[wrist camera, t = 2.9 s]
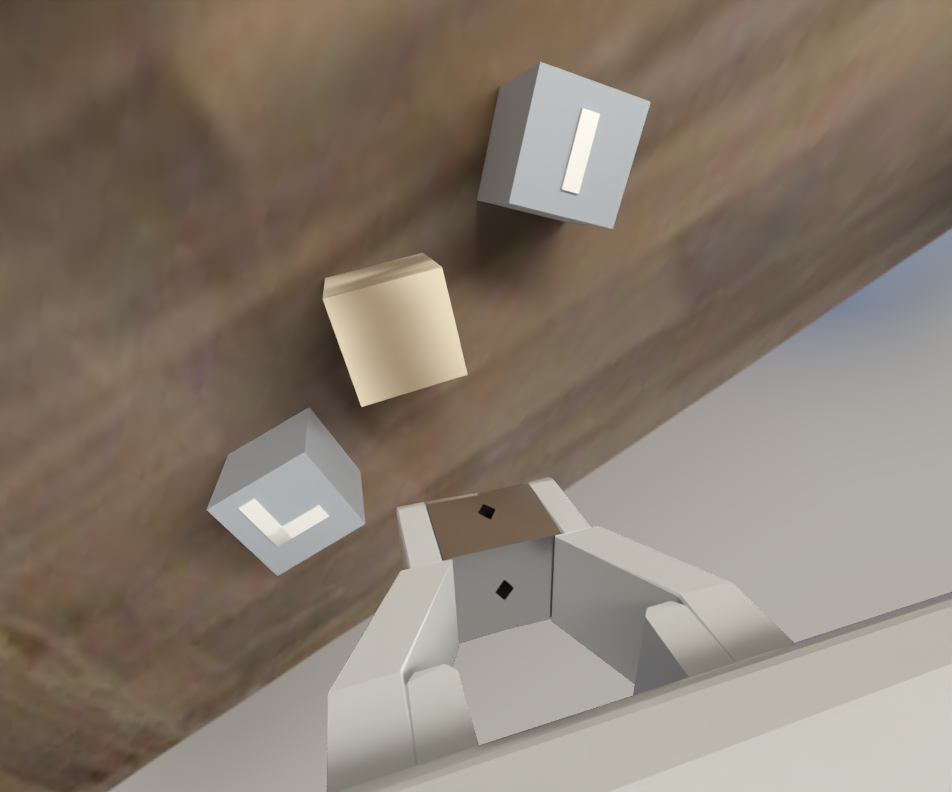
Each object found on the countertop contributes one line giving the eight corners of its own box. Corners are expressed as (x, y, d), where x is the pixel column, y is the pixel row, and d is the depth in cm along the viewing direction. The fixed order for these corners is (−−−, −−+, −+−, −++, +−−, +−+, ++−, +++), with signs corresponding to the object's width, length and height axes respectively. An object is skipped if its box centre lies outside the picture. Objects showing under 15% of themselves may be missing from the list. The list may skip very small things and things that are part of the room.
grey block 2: (591, 117, 24) (652, 101, 19) (564, 221, 26) (613, 229, 21) (499, 86, 22) (541, 61, 18) (476, 200, 24) (509, 203, 19)
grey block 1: (309, 406, 26) (304, 453, 21) (360, 470, 28) (365, 524, 24) (228, 454, 26) (205, 511, 21) (286, 514, 28) (277, 577, 23)
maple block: (422, 252, 24) (442, 266, 20) (445, 343, 26) (467, 374, 22) (324, 277, 23) (322, 299, 19) (357, 369, 26) (361, 406, 21)
